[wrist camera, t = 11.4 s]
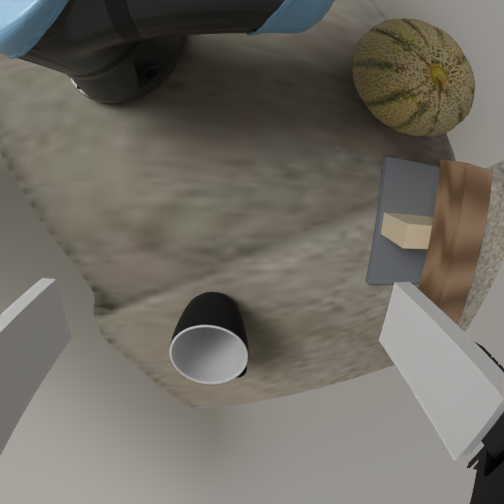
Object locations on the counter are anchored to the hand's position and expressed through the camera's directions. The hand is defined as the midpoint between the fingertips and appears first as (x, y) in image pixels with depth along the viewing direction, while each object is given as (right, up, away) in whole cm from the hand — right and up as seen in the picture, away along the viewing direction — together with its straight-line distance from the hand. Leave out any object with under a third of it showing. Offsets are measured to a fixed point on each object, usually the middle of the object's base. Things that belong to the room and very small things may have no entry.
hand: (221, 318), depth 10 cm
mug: (-4, -7, +31) cm, 32 cm away
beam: (+25, +4, +21) cm, 33 cm away
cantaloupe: (+19, +24, +21) cm, 37 cm away
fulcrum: (+25, +6, +28) cm, 38 cm away
